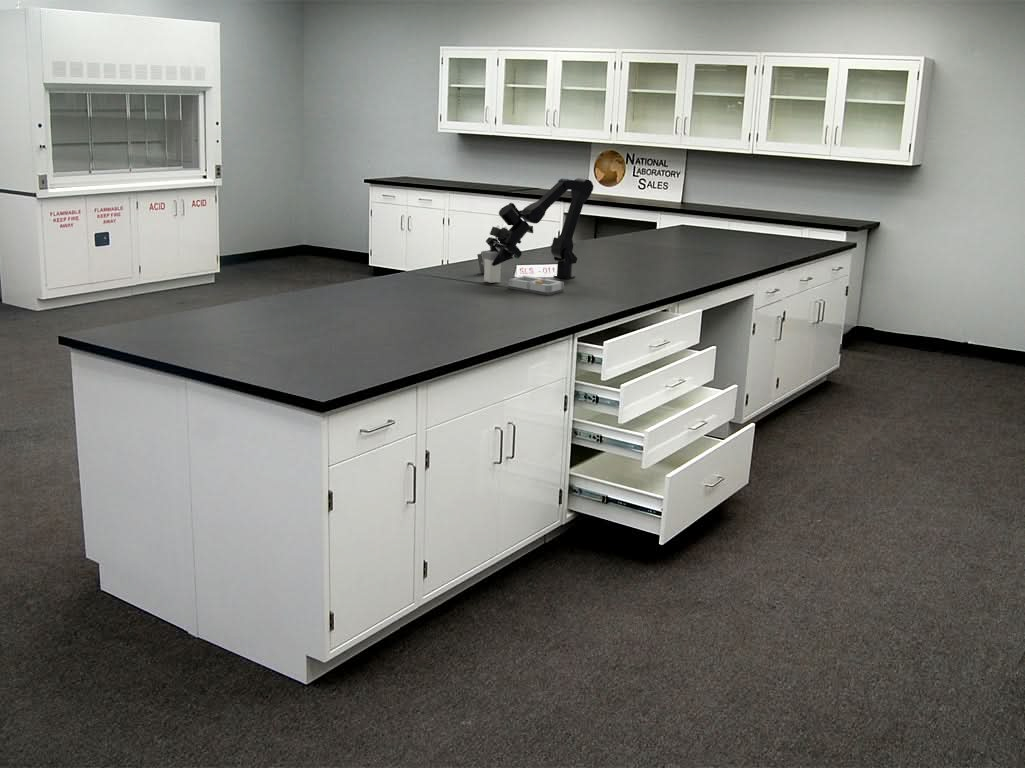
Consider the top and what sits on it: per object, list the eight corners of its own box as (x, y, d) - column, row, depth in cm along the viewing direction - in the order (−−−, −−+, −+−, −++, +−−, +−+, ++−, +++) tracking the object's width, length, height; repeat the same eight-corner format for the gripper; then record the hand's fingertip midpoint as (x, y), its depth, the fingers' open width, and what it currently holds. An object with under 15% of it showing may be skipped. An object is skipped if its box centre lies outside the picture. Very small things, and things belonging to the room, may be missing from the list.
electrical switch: (486, 275, 400) (485, 251, 398) (476, 274, 403) (475, 251, 401) (501, 272, 407) (500, 249, 405) (491, 271, 410) (490, 248, 408)
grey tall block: (494, 279, 388) (495, 251, 385) (500, 281, 384) (501, 253, 381) (484, 280, 386) (484, 251, 382) (489, 282, 382) (490, 253, 379)
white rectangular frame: (524, 284, 383) (524, 273, 382) (563, 291, 374) (564, 279, 373) (508, 288, 375) (508, 277, 374) (548, 295, 366) (549, 283, 364)
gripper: (490, 216, 388) (464, 246, 385) (515, 222, 373) (488, 253, 370) (507, 235, 394) (482, 265, 392) (533, 242, 379) (506, 273, 376)
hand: (489, 264), depth 382 cm, fingers closed on grey tall block, 4 cm apart
